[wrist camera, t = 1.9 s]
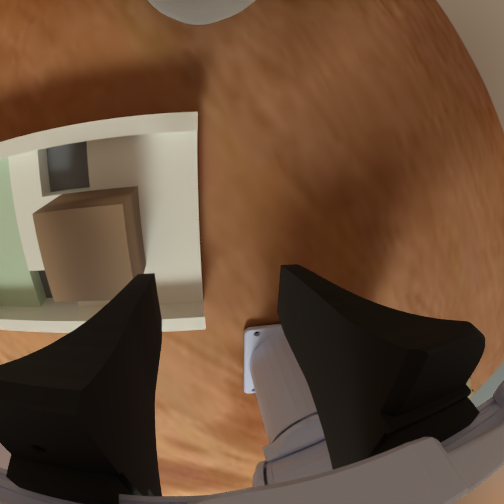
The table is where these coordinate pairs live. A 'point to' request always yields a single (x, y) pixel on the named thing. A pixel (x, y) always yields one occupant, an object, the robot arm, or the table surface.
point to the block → (91, 243)
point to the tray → (97, 178)
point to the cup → (200, 9)
